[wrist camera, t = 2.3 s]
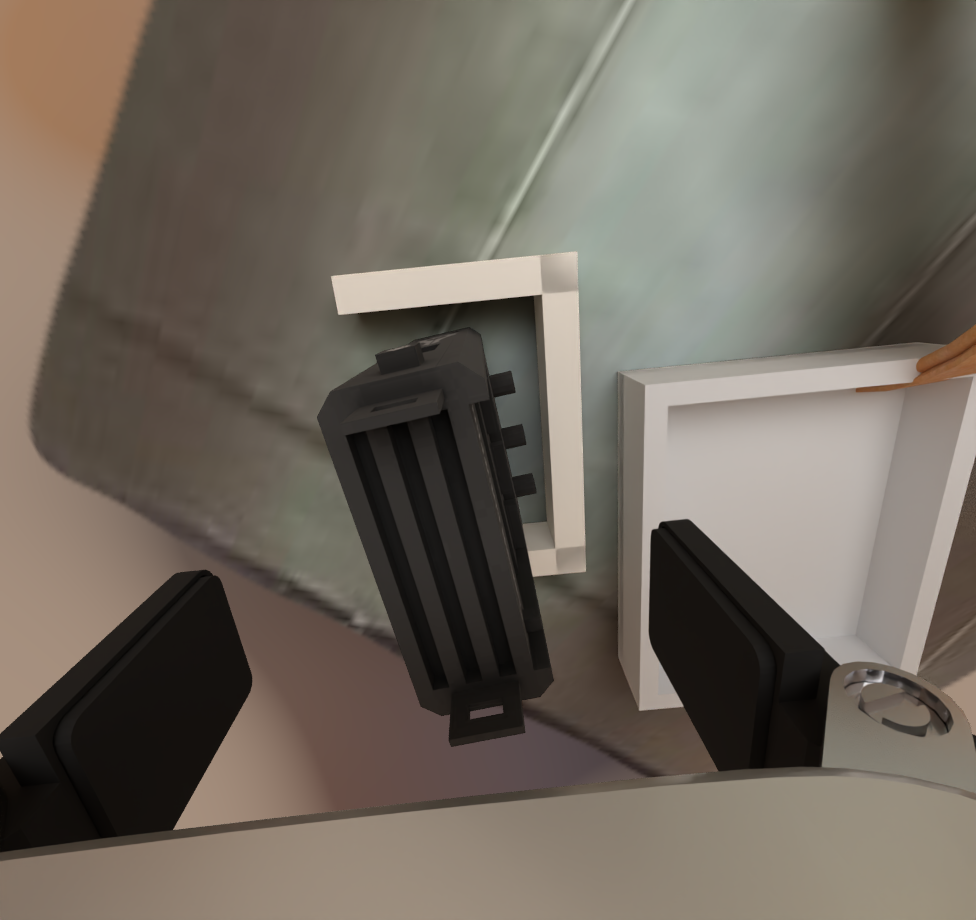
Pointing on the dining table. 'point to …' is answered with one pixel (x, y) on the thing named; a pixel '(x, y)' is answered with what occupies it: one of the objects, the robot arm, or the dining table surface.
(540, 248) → the dining table surface
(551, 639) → the dining table surface
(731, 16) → the dining table surface
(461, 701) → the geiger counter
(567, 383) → the cream piece
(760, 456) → the parts tray
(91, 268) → the dining table surface
